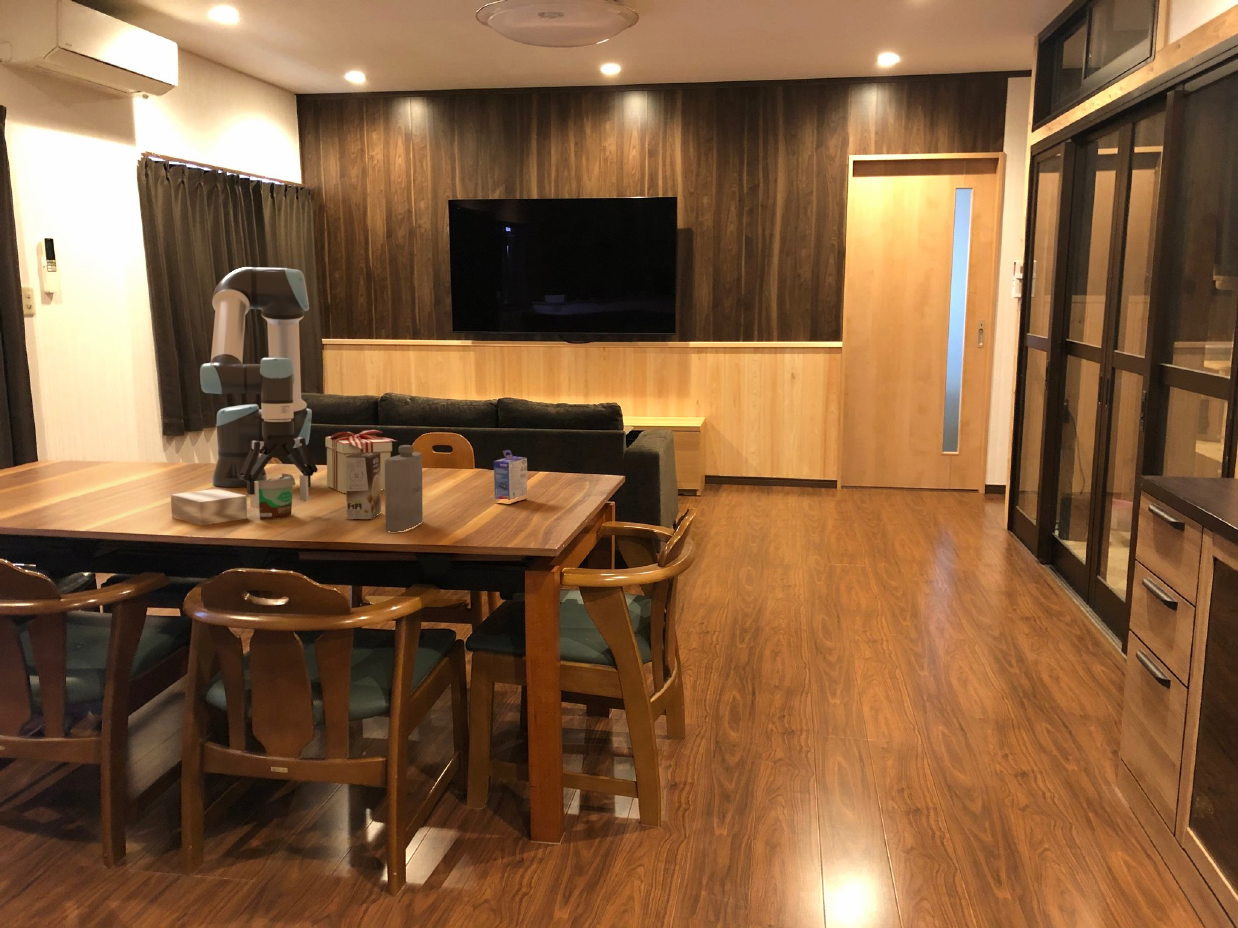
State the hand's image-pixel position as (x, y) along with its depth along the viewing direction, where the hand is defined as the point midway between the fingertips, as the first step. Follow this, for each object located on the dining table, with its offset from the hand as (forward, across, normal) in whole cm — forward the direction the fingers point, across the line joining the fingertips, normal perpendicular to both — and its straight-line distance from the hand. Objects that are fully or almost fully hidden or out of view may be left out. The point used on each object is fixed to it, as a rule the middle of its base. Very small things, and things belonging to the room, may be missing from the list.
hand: (280, 504), depth 239 cm
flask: (+4, +15, -31) cm, 35 cm away
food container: (+4, 0, 0) cm, 4 cm away
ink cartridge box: (+3, +56, -25) cm, 62 cm away
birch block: (+4, -13, +11) cm, 17 cm away
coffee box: (+4, +15, -14) cm, 21 cm away
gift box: (+3, +38, +19) cm, 43 cm away
